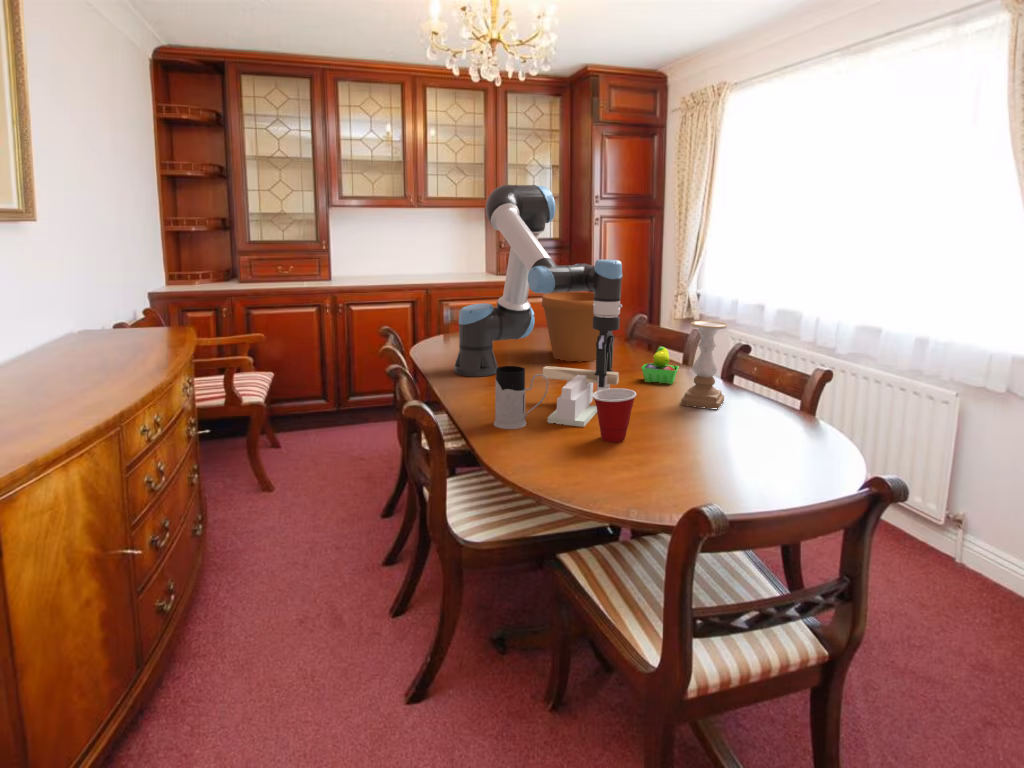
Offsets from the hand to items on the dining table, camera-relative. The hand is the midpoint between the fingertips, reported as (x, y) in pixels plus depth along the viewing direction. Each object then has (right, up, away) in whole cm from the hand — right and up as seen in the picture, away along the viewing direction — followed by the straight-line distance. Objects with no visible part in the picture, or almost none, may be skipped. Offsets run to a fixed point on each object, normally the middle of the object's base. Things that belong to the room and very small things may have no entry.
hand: (603, 395), depth 201 cm
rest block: (-7, -2, +3) cm, 8 cm away
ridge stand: (-10, -6, -10) cm, 15 cm away
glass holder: (-24, -8, -17) cm, 31 cm away
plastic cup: (-2, -11, -29) cm, 31 cm away
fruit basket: (+23, +4, +31) cm, 39 cm away
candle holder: (+30, -3, +5) cm, 31 cm away
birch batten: (-7, +4, +1) cm, 8 cm away
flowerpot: (-1, +14, +68) cm, 70 cm away
